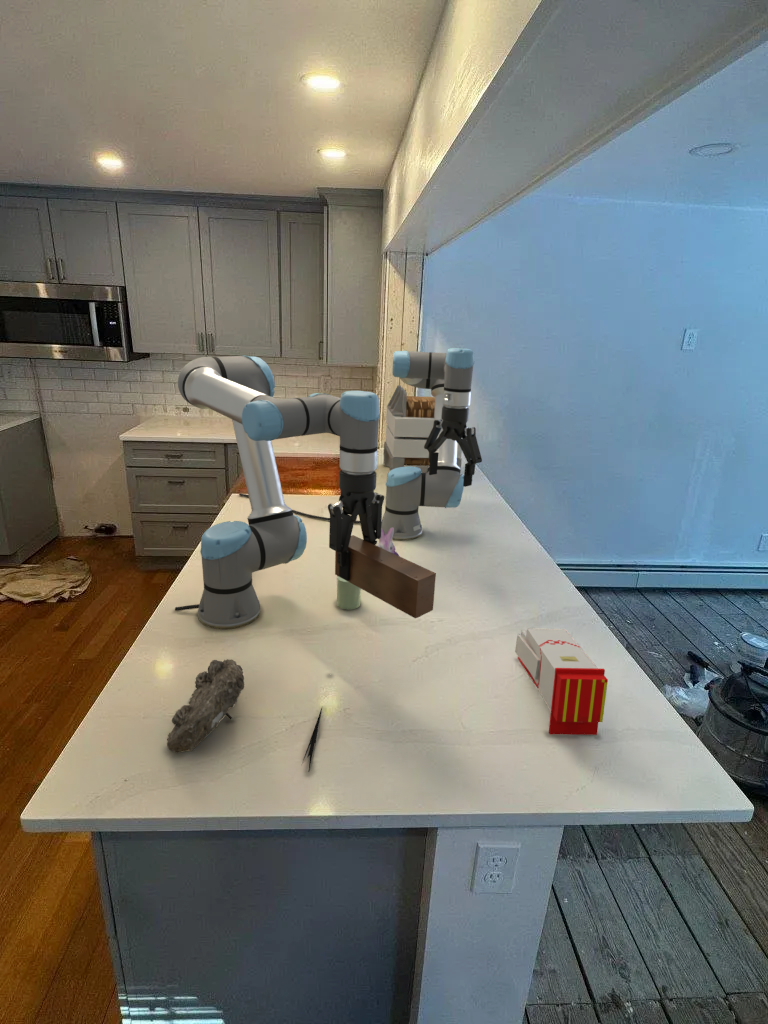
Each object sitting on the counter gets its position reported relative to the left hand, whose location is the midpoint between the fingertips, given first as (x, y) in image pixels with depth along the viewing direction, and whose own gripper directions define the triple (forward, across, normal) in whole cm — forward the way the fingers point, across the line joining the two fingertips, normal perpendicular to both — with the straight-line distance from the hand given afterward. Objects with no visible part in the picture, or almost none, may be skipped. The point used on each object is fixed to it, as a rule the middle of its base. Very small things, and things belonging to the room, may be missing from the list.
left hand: (354, 574), depth 122 cm
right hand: (-8, -51, -17) cm, 54 cm away
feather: (+21, +18, +12) cm, 30 cm away
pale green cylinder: (+21, -15, -19) cm, 32 cm away
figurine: (+21, -34, -24) cm, 47 cm away
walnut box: (+1, 0, +8) cm, 8 cm away
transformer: (+21, -124, -96) cm, 158 cm away
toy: (+21, -24, +36) cm, 48 cm away
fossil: (+21, +33, -2) cm, 39 cm away
